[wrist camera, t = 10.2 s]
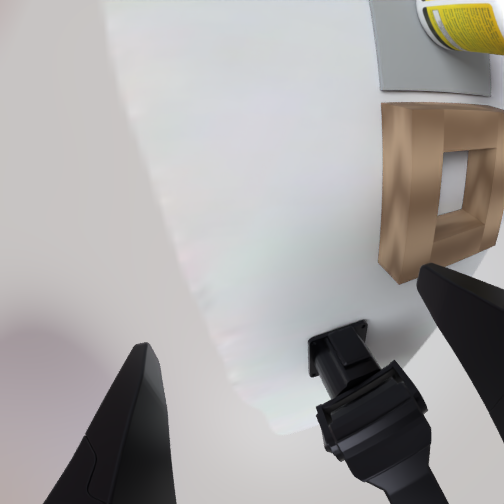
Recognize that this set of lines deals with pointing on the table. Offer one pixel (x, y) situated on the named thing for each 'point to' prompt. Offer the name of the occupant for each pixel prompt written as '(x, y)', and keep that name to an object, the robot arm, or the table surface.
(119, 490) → the robot arm
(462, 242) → the holder block
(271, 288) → the table surface
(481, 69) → the slate mat
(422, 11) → the pill bottle
